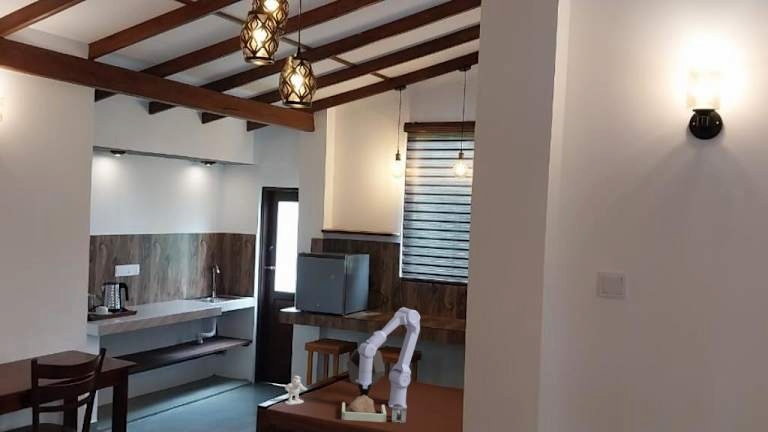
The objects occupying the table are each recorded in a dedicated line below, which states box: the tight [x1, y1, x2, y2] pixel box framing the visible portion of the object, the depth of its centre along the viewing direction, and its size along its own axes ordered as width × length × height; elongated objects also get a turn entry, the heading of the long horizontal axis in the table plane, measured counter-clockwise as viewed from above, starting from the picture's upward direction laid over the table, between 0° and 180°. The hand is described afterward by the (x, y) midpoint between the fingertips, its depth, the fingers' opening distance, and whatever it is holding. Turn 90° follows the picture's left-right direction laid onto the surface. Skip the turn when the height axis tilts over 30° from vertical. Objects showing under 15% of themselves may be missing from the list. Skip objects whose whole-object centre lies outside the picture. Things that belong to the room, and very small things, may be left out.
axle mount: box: [391, 406, 407, 424], centre depth 290 cm, size 2×6×6 cm, turn 93°
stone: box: [346, 395, 376, 414], centre depth 295 cm, size 12×9×10 cm
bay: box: [341, 401, 387, 423], centre depth 296 cm, size 16×18×3 cm
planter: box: [346, 348, 386, 387], centre depth 355 cm, size 17×8×21 cm
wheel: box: [391, 404, 403, 419], centre depth 295 cm, size 6×5×5 cm
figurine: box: [284, 375, 308, 406], centre depth 308 cm, size 9×7×12 cm
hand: (363, 401), depth 308 cm, fingers closed
